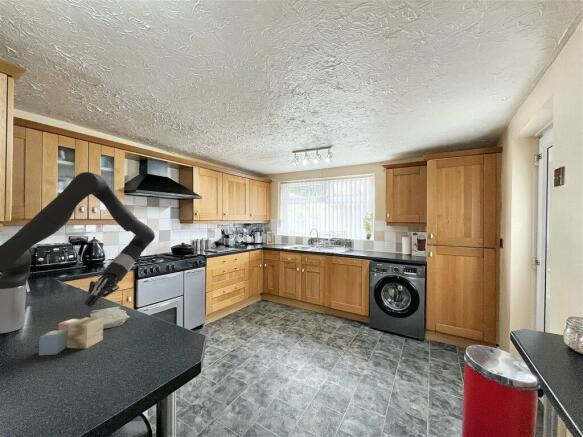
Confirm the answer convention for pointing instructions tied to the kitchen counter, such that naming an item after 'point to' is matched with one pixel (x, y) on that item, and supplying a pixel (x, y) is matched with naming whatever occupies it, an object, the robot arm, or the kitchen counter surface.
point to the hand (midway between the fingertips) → (87, 306)
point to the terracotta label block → (66, 324)
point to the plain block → (85, 333)
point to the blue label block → (53, 342)
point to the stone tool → (110, 316)
